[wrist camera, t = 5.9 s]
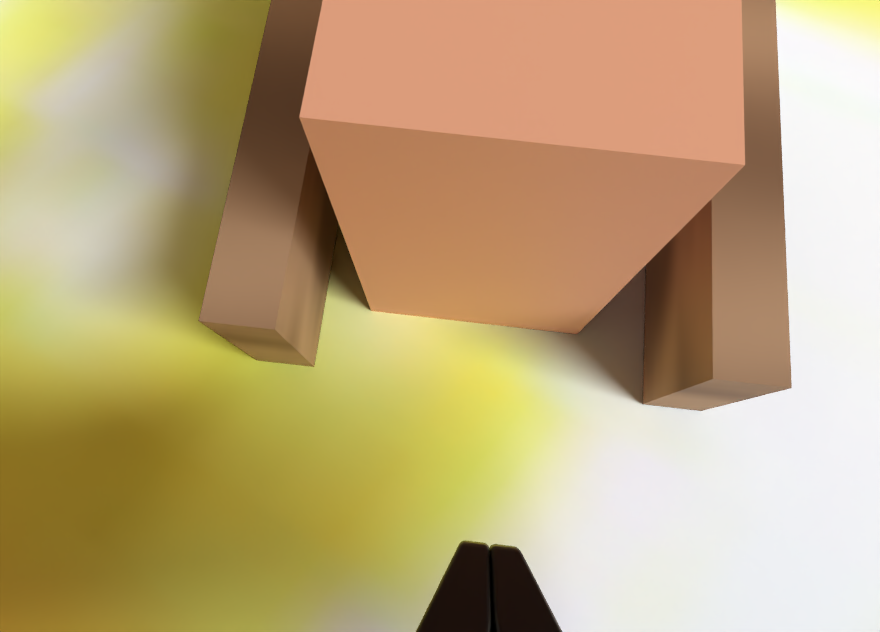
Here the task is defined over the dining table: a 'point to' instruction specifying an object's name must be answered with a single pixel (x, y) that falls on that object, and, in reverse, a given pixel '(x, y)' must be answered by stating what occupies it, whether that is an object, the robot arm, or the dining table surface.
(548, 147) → the block
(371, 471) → the dining table surface
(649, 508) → the dining table surface
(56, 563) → the dining table surface
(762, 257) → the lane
